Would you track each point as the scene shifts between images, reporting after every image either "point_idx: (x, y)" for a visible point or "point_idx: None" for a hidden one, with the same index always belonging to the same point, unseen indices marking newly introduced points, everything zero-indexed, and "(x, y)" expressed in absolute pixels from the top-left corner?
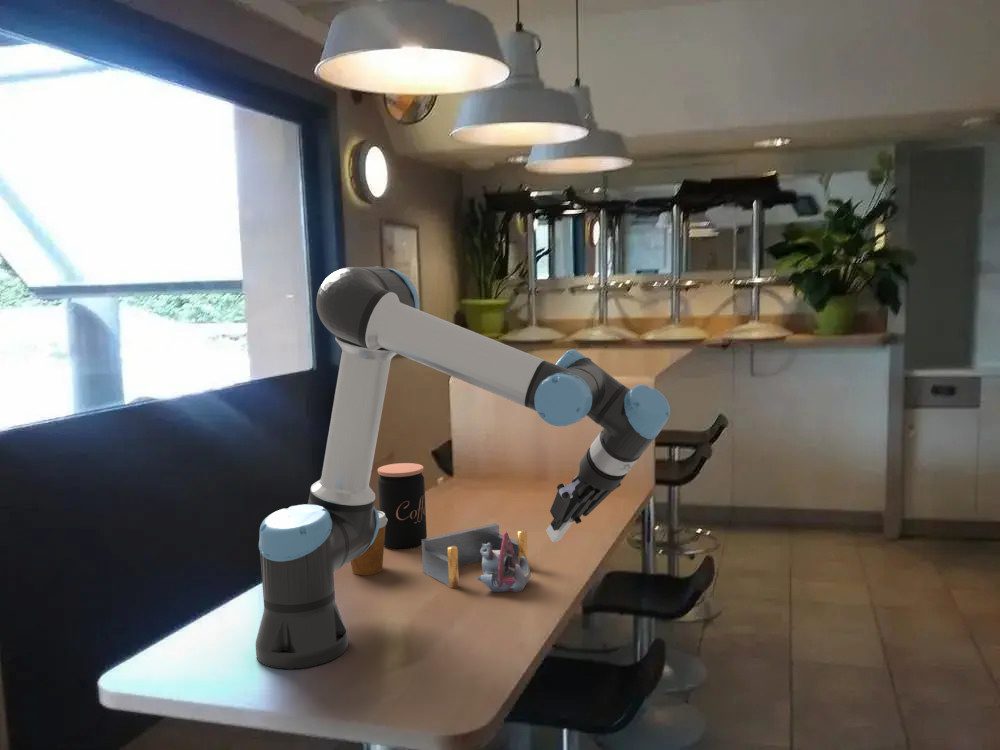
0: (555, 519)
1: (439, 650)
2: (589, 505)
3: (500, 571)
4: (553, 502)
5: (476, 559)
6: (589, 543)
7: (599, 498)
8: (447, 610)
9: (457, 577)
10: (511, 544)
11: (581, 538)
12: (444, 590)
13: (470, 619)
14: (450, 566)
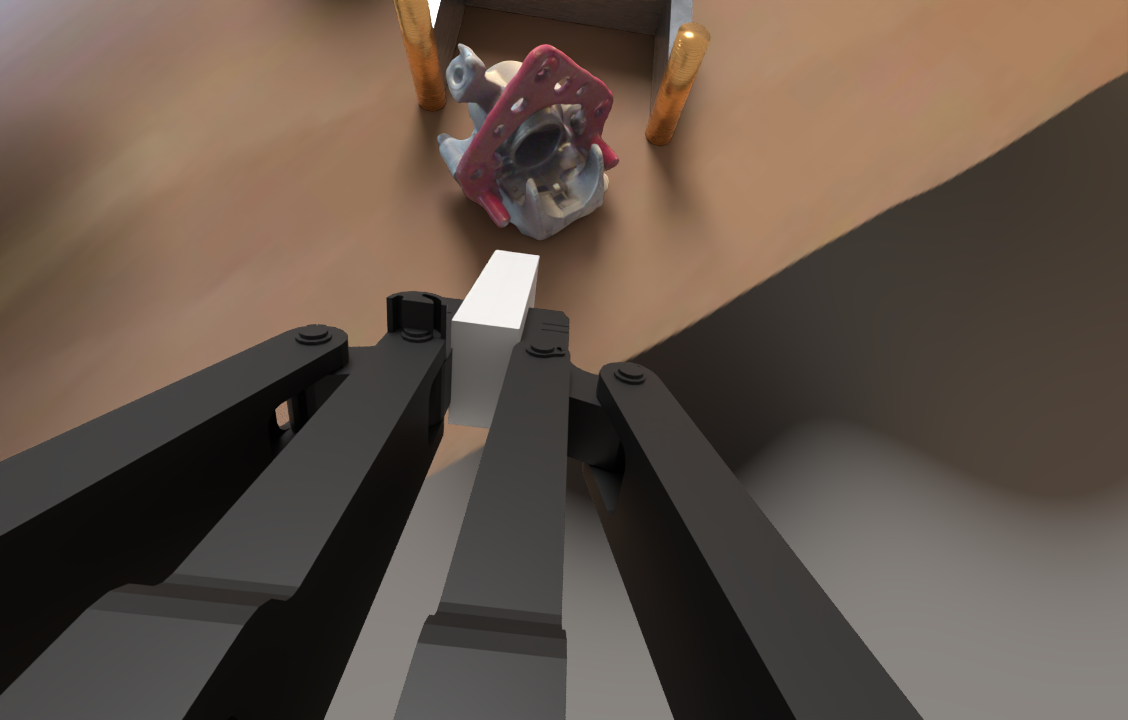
0: (287, 424)
1: (41, 389)
2: (616, 522)
3: (464, 179)
4: (126, 406)
5: (600, 20)
6: (924, 131)
7: (670, 696)
8: (291, 201)
9: (430, 87)
10: (590, 84)
11: (930, 93)
12: (394, 102)
13: (280, 288)
14: (405, 48)
